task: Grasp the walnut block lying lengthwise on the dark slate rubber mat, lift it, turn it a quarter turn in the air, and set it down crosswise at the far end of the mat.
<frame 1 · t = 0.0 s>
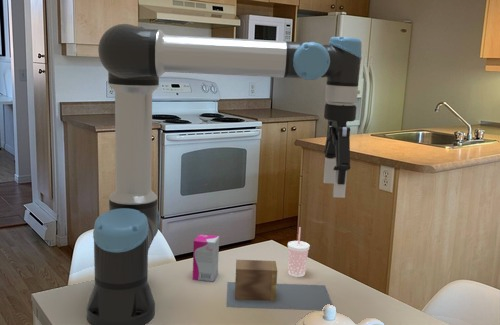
hand: (333, 189, 128), 28 cm above the table, tool pointing down, fingers open, 13 cm apart
slate mat: (278, 297, 131), on the table
walnut block: (254, 294, 131), on the table, touching slate mat
beverage cup: (296, 275, 145), on the table
supplement box: (205, 278, 140), on the table
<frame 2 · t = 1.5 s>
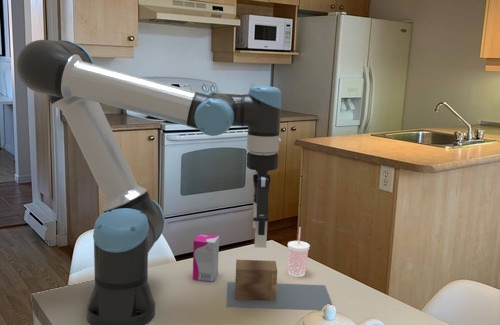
hand: (259, 237, 128), 16 cm above the table, tool pointing down, fingers open, 13 cm apart
nothing on the table moved.
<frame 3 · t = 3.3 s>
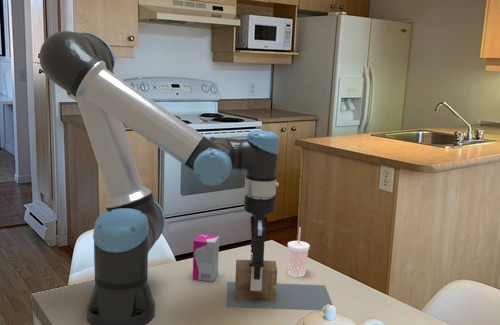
hand: (255, 284, 130), 3 cm above the table, tool pointing down, fingers closed on walnut block, 6 cm apart
walnut block: (254, 294, 131), on the table, touching gripper, slate mat
everything else where it was.
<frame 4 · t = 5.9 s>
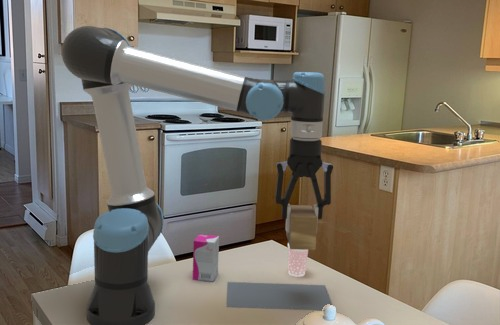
hand: (301, 231, 128), 18 cm above the table, tool pointing down, fingers closed on walnut block, 6 cm apart
walnut block: (300, 242, 128), point 15 cm above the table, touching gripper
everything else where it was.
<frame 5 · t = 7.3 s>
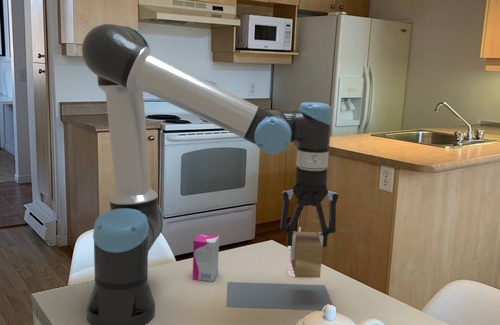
hand: (305, 258, 129), 11 cm above the table, tool pointing down, fingers closed on walnut block, 6 cm apart
walnut block: (304, 269, 130), point 8 cm above the table, touching gripper
everything else where it was.
when the fingers open (5 cm above the table, at t = 8.7 s): walnut block drops 1 cm, resting on slate mat.
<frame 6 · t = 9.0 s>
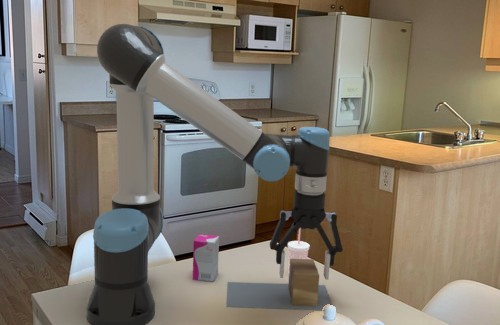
hand: (303, 276, 130), 6 cm above the table, tool pointing down, fingers open, 10 cm apart
walnut block: (302, 296, 131), resting on slate mat
everything else where it was.
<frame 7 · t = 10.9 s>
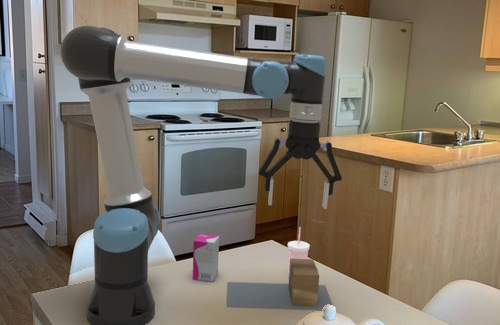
hand: (297, 205, 129), 24 cm above the table, tool pointing down, fingers open, 13 cm apart
nothing on the table moved.
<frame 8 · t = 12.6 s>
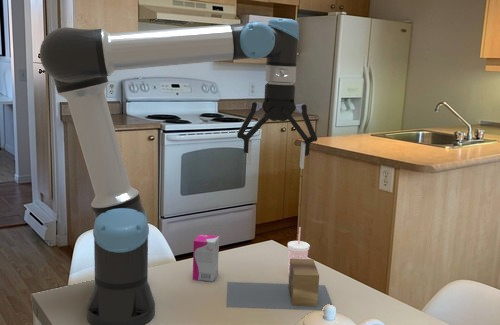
hand: (275, 166, 134), 32 cm above the table, tool pointing down, fingers open, 13 cm apart
nothing on the table moved.
at the end: walnut block inside the target area on the slate mat (0.0 cm from its centre), point 0.5 cm above the slate mat's base; walnut block tilted 0°; the gripper is holding nothing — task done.
